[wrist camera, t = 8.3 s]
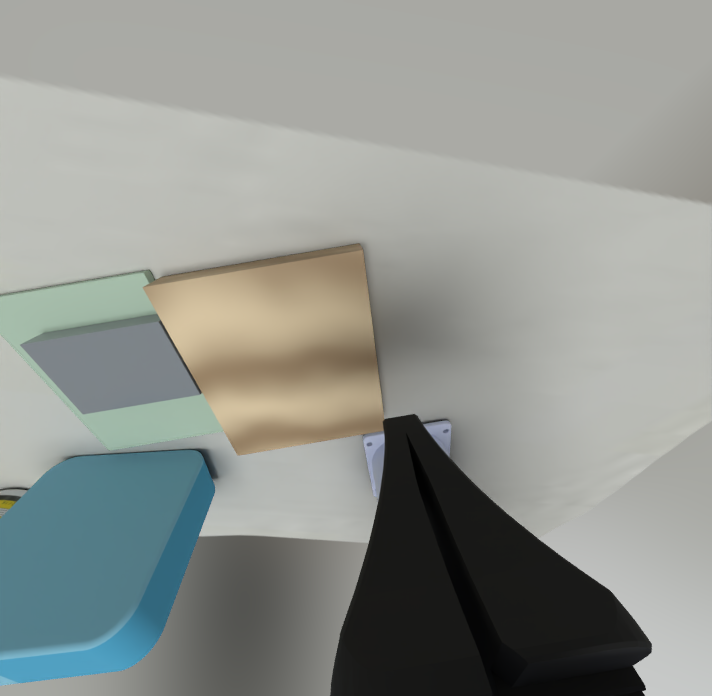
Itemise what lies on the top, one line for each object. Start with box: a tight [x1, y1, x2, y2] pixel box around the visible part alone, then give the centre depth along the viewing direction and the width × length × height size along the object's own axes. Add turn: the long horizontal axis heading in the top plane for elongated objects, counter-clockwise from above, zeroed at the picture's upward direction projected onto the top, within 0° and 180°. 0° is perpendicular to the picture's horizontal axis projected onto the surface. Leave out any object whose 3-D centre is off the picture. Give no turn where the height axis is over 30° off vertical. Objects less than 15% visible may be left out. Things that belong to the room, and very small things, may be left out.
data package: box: [0, 450, 215, 685], centre depth 19 cm, size 12×4×12 cm, turn 89°
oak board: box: [142, 244, 384, 455], centre depth 19 cm, size 14×12×2 cm
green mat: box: [0, 270, 224, 451], centre depth 19 cm, size 13×10×1 cm
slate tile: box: [20, 314, 202, 414], centre depth 18 cm, size 6×8×2 cm
